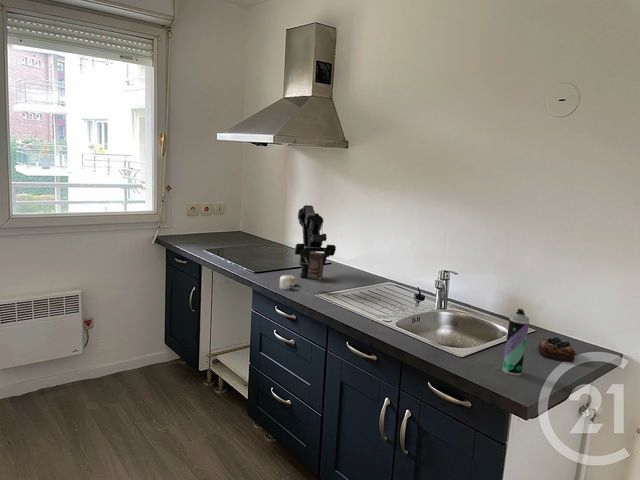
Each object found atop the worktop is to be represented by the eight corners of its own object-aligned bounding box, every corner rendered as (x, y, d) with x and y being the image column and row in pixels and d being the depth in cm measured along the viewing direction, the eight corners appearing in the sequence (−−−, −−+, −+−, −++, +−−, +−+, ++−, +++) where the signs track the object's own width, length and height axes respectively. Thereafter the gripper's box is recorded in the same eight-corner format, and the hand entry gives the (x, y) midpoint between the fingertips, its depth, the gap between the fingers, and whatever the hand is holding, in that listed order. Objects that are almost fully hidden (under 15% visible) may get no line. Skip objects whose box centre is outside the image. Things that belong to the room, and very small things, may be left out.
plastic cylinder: (279, 286, 227) (279, 276, 226) (289, 286, 228) (290, 276, 227) (279, 289, 222) (280, 278, 221) (290, 289, 223) (291, 279, 222)
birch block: (281, 283, 233) (282, 275, 232) (291, 283, 235) (291, 275, 234) (284, 286, 228) (285, 277, 228) (294, 285, 230) (295, 277, 230)
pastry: (541, 358, 161) (543, 342, 160) (535, 346, 173) (538, 330, 172) (577, 364, 159) (580, 347, 158) (569, 351, 170) (571, 335, 169)
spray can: (500, 367, 151) (508, 305, 148) (518, 368, 151) (527, 307, 148) (505, 374, 146) (514, 311, 143) (523, 376, 146) (533, 313, 142)
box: (322, 278, 225) (324, 253, 223) (318, 280, 221) (320, 254, 218) (311, 276, 227) (312, 251, 225) (306, 278, 223) (308, 252, 221)
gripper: (297, 226, 222) (298, 254, 213) (336, 228, 225) (339, 256, 216) (293, 239, 231) (295, 267, 222) (332, 241, 234) (334, 269, 225)
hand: (316, 265), depth 221 cm, fingers closed on box, 7 cm apart
